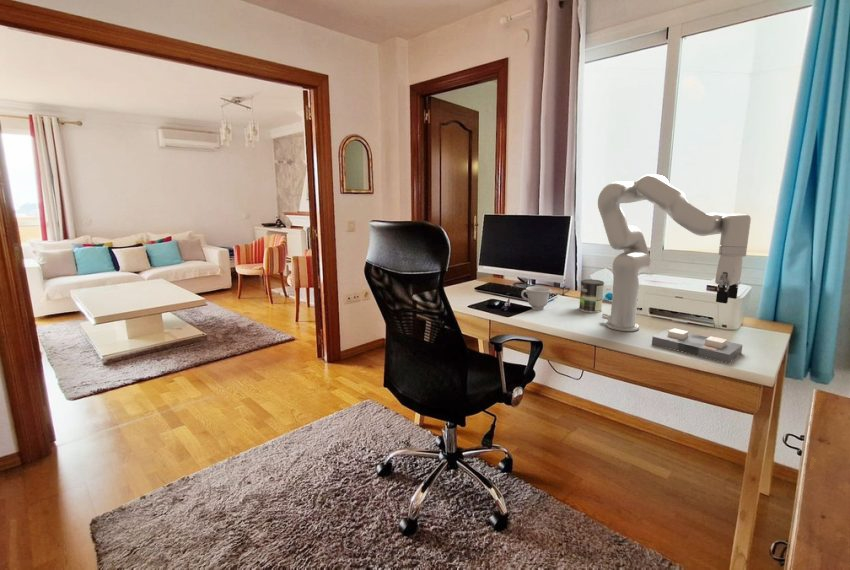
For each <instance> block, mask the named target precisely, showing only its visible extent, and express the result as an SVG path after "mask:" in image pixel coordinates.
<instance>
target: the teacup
mask: <svg viewBox="0 0 850 570" xmlns="http://www.w3.org/2000/svg"><path fill="white" fill-rule="evenodd" d="M551 291H552V289H551V288H550V287H547V286H542V285H541V286H540V285H539V286H538V285H537V286H536V285H533V286H528V287H526V288H525V289H523V290H522V291H521V294H520V295H521V296H520V297H522V299H523V300H525V301H526V300H527V301H528V304H529V306H531V309H532V310H535V311H542V310H544V307H545V306H547V305H548V302H549V297H550V292H551ZM524 293H525V294H526V295H527V297H526V296H525V295H524Z"/></svg>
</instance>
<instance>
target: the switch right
mask: <svg viewBox="0 0 850 570" xmlns="http://www.w3.org/2000/svg"><path fill="white" fill-rule="evenodd" d="M707 337H708V336H707ZM727 342H728V339H726V338H721V337H717V336H716V337H715V336H712V335H710V336H709V337H708V338H707V339H705V345H707V346H711V347H716V348H720V349H723V348H724V347H726V345H727Z"/></svg>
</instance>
